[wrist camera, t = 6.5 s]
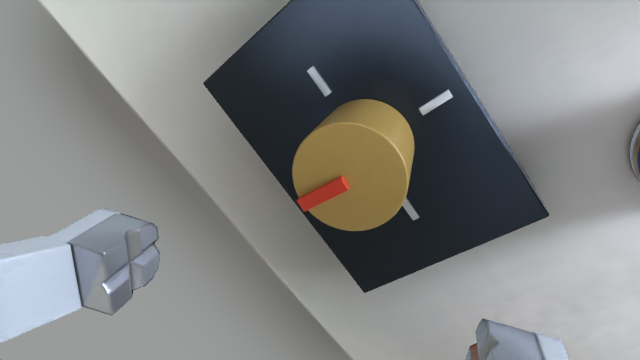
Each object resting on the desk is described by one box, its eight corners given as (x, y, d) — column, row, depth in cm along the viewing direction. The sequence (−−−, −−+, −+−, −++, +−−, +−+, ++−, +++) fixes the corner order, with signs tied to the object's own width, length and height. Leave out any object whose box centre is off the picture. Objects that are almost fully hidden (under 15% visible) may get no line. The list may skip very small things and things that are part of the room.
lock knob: (382, 79, 16) (365, 100, 12) (432, 164, 17) (431, 208, 13) (302, 128, 18) (266, 160, 14) (351, 203, 19) (329, 251, 15)
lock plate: (535, 188, 19) (551, 218, 16) (372, 262, 24) (363, 295, 21) (379, -61, 17) (367, -75, 14) (231, 74, 21) (200, 83, 19)
